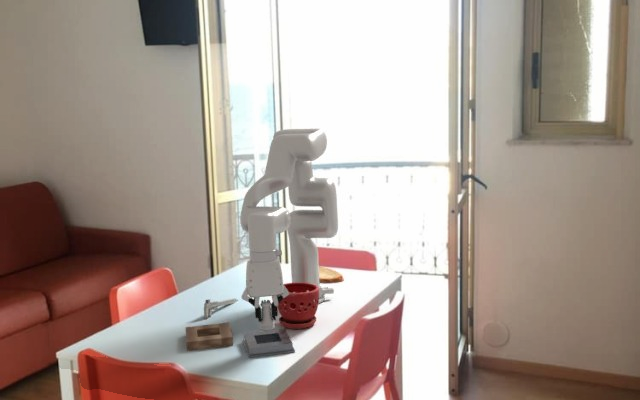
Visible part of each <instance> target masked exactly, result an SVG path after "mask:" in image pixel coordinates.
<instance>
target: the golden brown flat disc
mask: <svg viewBox="0 0 640 400" xmlns="http://www.w3.org/2000/svg"><path fill="white" fill-rule="evenodd" d="M344 281H345V279H344V276H343V274H342V273H340V272H338V271H336V270H333V269H331V268H328V267H324V266H322V265H319V282H320V284H336V283H337V284H338V283H342V282H344Z"/></svg>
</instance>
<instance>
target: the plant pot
mask: <svg viewBox="0 0 640 400" xmlns="http://www.w3.org/2000/svg"><path fill="white" fill-rule="evenodd" d="M283 284H284V286H285V287H286V289H287V290H288V291H289V295H288V296H286V297H285V298H283V299H282V300H281V302H280V303H279V304H278V306H277V310H278V313H279V314H280V317H279V318H278V322H279V324H280V325H281V326H283V327H285V328H286V329H292V330H293V329H295V330H296V329H297V330H298V329H299V330H300V329H306V328H308V327H311V326H313V325H315V324H316V321H317V317H316V314H317V312H318V311H317V310H318V308H319V304H318V302H319V287H318V286H316V285H314V284H310V283H292V282H289V283H287V282H286V283H283ZM307 290H308V291H309V292H307ZM293 292H295V293H293ZM301 292H303V293H301ZM277 296H278V295H277ZM314 299H315V302H314Z"/></svg>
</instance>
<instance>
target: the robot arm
mask: <svg viewBox="0 0 640 400" xmlns="http://www.w3.org/2000/svg"><path fill="white" fill-rule="evenodd" d="M327 145H328V139H327V135H326V132H324V130H323V129H321V128H287V129H281V130H278V131H276V132H274V134H273V136H272V140H271V143H270V146H269V151H268V156H267V160H266V166H265V170H264V175H263V176H261V177H260V178H259V179H257V181H255V182H254V183H253V184H252V185H251V187H250V188H249V189H248V190H247V192H246V193H245V196H244V198H243V203H242V207H241V209H240V210H241V211H240V226H241V228H242V230H243V231H244V232H247V233H248V249H249V260H247V261H246V270H245V284H246V285H245V288H244V291H243V292H242V294H241V295H240V297H241V299H242V300H243V301H245V302H248V303H249V304H251V306H253V307H254V314H255V317H254V318H255V319H257V320H258V322H259V323H260V322H261V319H262V310H261V309H262V307H261V305H260V300H261V298H262V297H263V298H265V297H271V299H272V302H271V306H270V308H271V317H272V319H273V321H277V319H276V318H277V317H278V315H279V310H278V304H279V303H280V302H281V300H282V299H283V298H285V297H286V296H288V295H289V291H288V290H287V289H286V287H285V286H284V284H285V283H284V280H283V270H282V265H281V262H280V258H278V257H279V256H282V254H283V252H282V250H281V249H280V250H279V249H277V234H282V233H284V232H286V231H287V235H288V242H289V251H290V252H289V253H290V271H291V274H290V275H291V283H310V284H314V285H316V286H318V287H319V302H318V305H319V304H321V303H323V302H324V301H325V295H331V294H332V295H333V294H334V292H335V290H334V288H333V287H329V286H327V287H326V286H324V287H322V286H321V285H320V284H321V283H320V282H319V266H320V265H319V263H320V262H319V249H318V247H317V245H316V243H315V242H314V241H313V239H332V238H334V237H335V236H337V233H338V229H339V217H338V216H339V215H338V198H337V197H338V196H337V188H336V184H335V183H334V180H332V179H330V178H327V177H315V176H314V172H313V163H312V162H313V161H316V160H317V159H319V158H320V157H321V156H322V155H323V154H324V153H325V151H326V149H327ZM286 188H288V199H289V201H290V204H291V205H293V206H295V207H310V208H311V207H313V208H315V207H317V208H319V207H320V208H321V209H296V210H295V209H294V210H292V211H291V212H290V211H289V210H288V209H287V208H286V207H283V206H258V204H259V203H261V201H262V200H263V199H265V198H267V197H268V196H270V195H273V194H275V193H278V192H280V191H282V190H284V189H286ZM307 292H309V291H308V290H307ZM293 293H295V292H293ZM301 293H303V292H301ZM277 295H278V296H277ZM314 302H315V299H314Z"/></svg>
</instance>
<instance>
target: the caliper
mask: <svg viewBox="0 0 640 400" xmlns="http://www.w3.org/2000/svg"><path fill="white" fill-rule="evenodd" d="M237 301H239V299H237V298H228V299H224V300H220V301H219V300H214V301H211V299H209V298H208V299H205V301H204V304H203V305H204V306H203V316H204V319H206V320H207V319H209V318H211V317H212V313H213V310H215V311H216V310H218V309H219V307H223V306H227V305H231V304H235V303H236V302H237Z"/></svg>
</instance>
